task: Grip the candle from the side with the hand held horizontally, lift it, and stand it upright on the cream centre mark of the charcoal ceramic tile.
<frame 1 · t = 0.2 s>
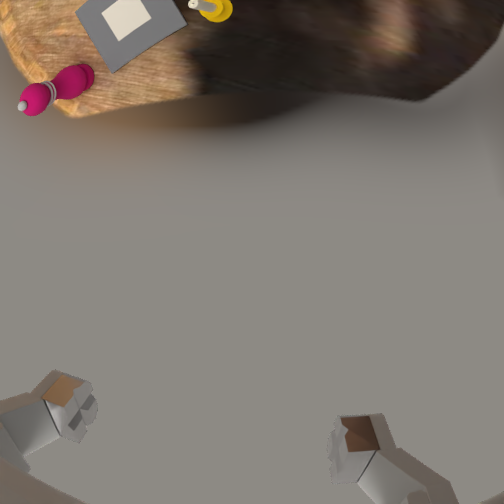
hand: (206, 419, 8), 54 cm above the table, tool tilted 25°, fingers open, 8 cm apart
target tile: (127, 14, 40), on the table
candle: (218, 9, 39), on the table
pepper mill: (83, 76, 48), on the table
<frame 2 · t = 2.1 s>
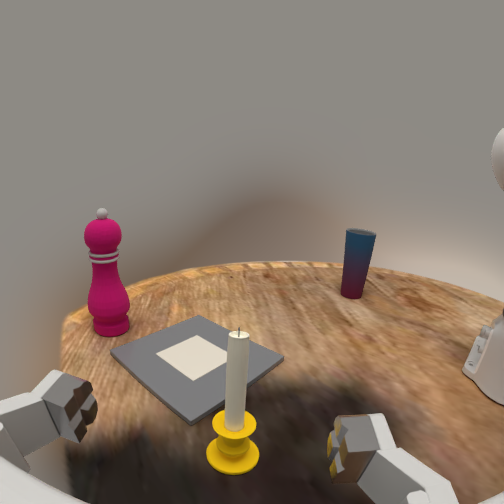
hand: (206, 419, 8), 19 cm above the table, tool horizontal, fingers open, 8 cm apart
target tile: (195, 360, 41), on the table
candle: (232, 456, 25), on the table
pepper mill: (112, 328, 47), on the table
cup: (350, 295, 68), on the table
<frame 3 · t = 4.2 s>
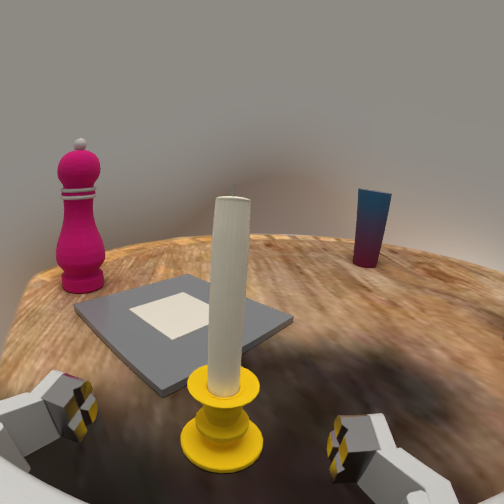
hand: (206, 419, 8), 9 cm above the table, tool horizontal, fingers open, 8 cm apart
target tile: (178, 319, 32), on the table
candle: (221, 444, 17), on the table
pepper mill: (83, 286, 38), on the table
cup: (364, 265, 60), on the table
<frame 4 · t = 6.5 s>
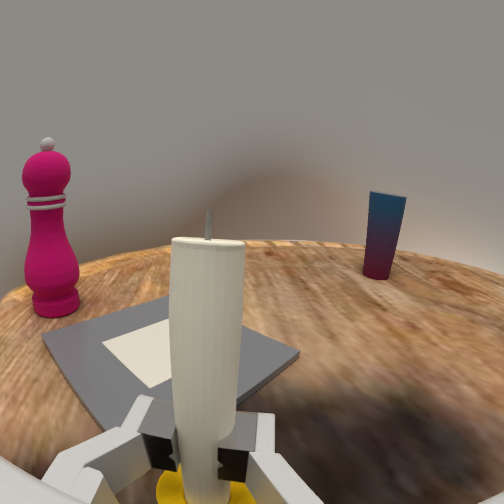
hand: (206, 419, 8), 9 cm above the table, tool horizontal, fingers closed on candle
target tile: (160, 355, 26), on the table
pepper mill: (57, 308, 31), on the table
cup: (375, 276, 53), on the table
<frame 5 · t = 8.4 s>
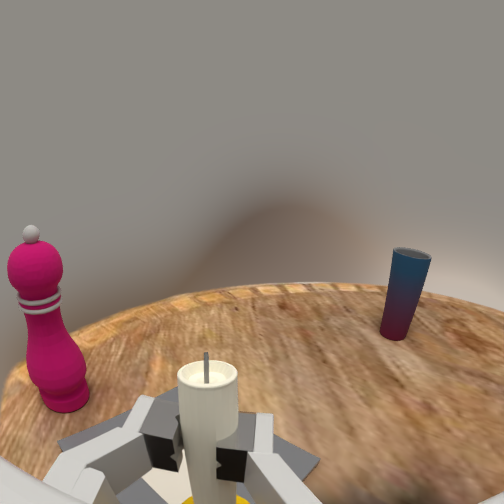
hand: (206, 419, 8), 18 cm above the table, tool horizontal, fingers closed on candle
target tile: (183, 467, 22), on the table
pepper mill: (66, 396, 28), on the table
cup: (392, 334, 49), on the table
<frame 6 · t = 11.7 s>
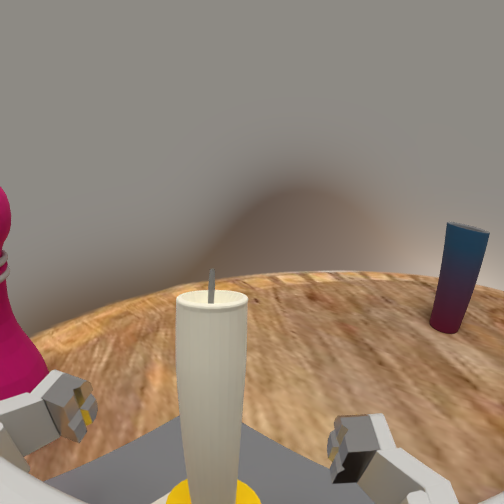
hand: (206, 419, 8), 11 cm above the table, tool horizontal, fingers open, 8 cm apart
pepper mill: (27, 422, 16), on the table
cup: (443, 327, 38), on the table
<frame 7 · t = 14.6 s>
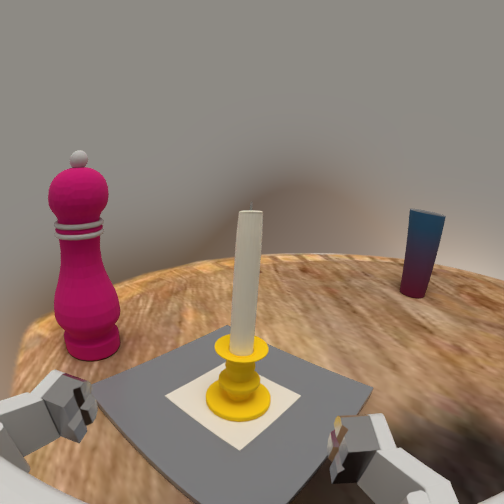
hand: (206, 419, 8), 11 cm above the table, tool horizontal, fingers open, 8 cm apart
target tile: (233, 405, 23), on the table
candle: (237, 401, 23), point 1 cm above the table, touching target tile
pepper mill: (93, 346, 29), on the table
cup: (411, 294, 50), on the table
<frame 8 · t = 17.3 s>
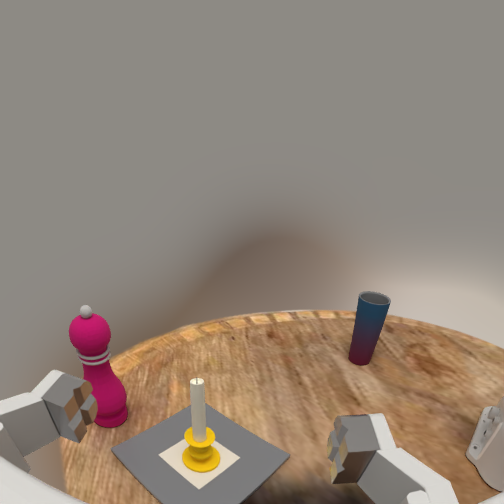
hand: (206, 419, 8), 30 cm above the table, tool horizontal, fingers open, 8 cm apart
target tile: (199, 460, 34), on the table
candle: (201, 459, 34), point 1 cm above the table, touching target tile
pepper mill: (109, 415, 40), on the table
cup: (359, 359, 62), on the table
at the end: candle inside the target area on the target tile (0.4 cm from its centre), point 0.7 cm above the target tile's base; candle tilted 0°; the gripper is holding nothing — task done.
